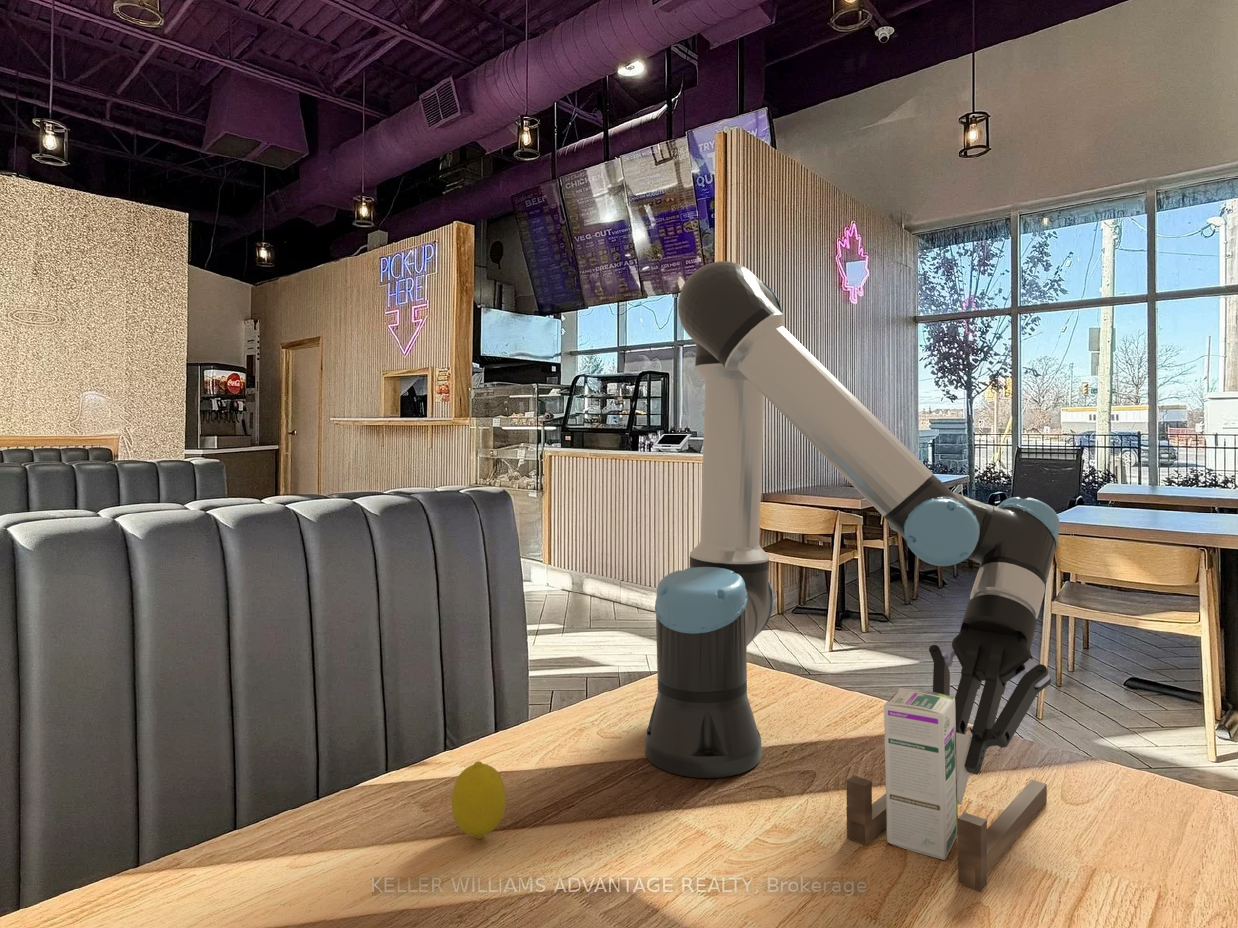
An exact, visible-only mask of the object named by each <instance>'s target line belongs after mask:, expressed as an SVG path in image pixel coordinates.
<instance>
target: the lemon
mask: <svg viewBox="0 0 1238 928" xmlns="http://www.w3.org/2000/svg"><path fill="white" fill-rule="evenodd" d="M452 788H453V789H452V794H451V813H452V816H453V820H454V822H455V823H456V826H457V827H458V828H459V829H460V830H461V831H462V832H463V833H465V834H467V835H469V836H473V837H475V838H476V839H478V840H481V839H483V838H484V837H485V836H486V835H488V834H489V833H491V832H493V831H494V830H495V829H496V828H497V827H498V826H499V824H500V823H501V820H502V819H503V817H504V814H505V811H506V803H507V802H506V801H507V794H506V788H505V784H504V781H503V778H502V775H500V773H499V772H498V770H497V769H495V768H494V767H493V766H491V765H489V764H486V763H483V762H482V761H475V762H474V764H472V765H469V766H467V767H466V768H464V769H463V771H461V772H460V773H459V775H458V776H457V778H456V780H455V782H454V785H453V787H452Z"/></svg>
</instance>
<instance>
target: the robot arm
mask: <svg viewBox="0 0 1238 928" xmlns="http://www.w3.org/2000/svg"><path fill="white" fill-rule="evenodd" d="M677 303H678V305H677V306H678V307H677V308H678V309H677V310H678V317H679V320H680V323H681V325H682V326H681V327H683V330H684V331H685V333H686V334H687V335H688V337H690V338H691V339H692V340H693V341H694V342H695V361H694V362H695V365H694V366H695V371H697V372H698V373H699V374H700V376H701V377H702V378H703V379H704V381H705V383H704V409H703V410H704V411H703V412H704V414H703V442H702V443H703V444H702V445H703V447H702V452H703V453H702V481H701V509H700V513H701V515H700V539H699V540H700V542H699V543H698V544H697V545H696V546H695V547H694V548H693V549H692V550H691V551H690V552H689V567H688V568H685V569H684V570H676V571H673V572H670V573H668V574H666V575H665V576H664V577H663V578H662V579H660V581H659V583H658V585H657V588H656V599H655V602H654V603H655V605H654V611H655V612H654V613H655V619H656V620H655V626H656V630H655V631H656V670H657V671H656V673H657V677H656V678H657V695H656V697H655V702H654V705H653V708H652V712H651V714H650V719H649V722H648V726H647V727H646V731H645V735H644V736H645V737H644V748H645V749H644V754H645V756H646V758H647V760H648V761H649V762H650V763H652V765H654V766H655V767H657V768H658V769H661V770H662V771H666V772H667V773H671V774H674V775H679V776H684V777H691V778H700V779H715V778H716V779H717V778H726V777H731V776H732V777H733V776H735V775H740V774H742V773H746V772H747V771H750V770H752V769H753V768H755V767H756V766H757V765H758V764H760V761H761V760H762V737H761V734H760V731H759V729H758V727H757V723H756V720H755V716H754V713H753V710H752V707H751V704H750V700H749V698H748V670H747V669H748V665H747V663H748V661H747V659H748V658H747V654H748V653H747V652H748V651H747V649H748V648H747V647H748V646H749V645H750V644H751V643H752V641H754V640H755V638H756V637H757V636H758V635H759V634H760V633H762V631H764V630H765V628H766V626H767V625H768V623H769V621H770V618H771V616H772V614H773V609H774V592H773V586H772V585H771V582H770V579H769V576H770V555H768V554H767V552H766V551H765V550H764V549H763V548H762V546H761V545H760V531H761V530H760V529H761V528H760V527H761V498H762V476H763V475H762V474H763V472H762V471H763V447H764V446H763V441H764V440H763V439H764V438H763V437H764V418H765V417H764V416H765V415H764V414H765V413H764V411H765V409H764V408H765V398H766V399H767V400H768V401H769V402H770V403H771V404H772V405H773V406H774V407H775V408H776V409H777V410H778V411H779V412H780V413H781V414H782V415H783V416H784V417H785V418H786V419H787V420H788V422H789V423H791V424H792V426H794V427H795V429H797V431H799V433H800V434H801V435H802V436H803V437H804V438H805V439H806V440H807V441H808V442H809V443H810V444H811V445H812V446H813V447H814V448H815V449H816V450H817V451H818V452H819V453H820V454H821V455H822V456H823V457H824V458H825V459H826V460H827V461H828V462H829V463H830V464H831V465H832V466H833V467H834V468H835V469H836V470H837V471H838V472H839V473H840V474H841V475H842V476H843V477H844V478H845V479H846V481H848V483H850V484H851V485H852V487H854V488H855V489H856V490H857V491H858V492H859V493H860V494H861V495H862V497H863V498H864V499H865V500H866V501H868V502H869V504H871V506H872V507H874V509H876V511H878V512H879V514H880V515H881V516H882V517H884V519H885V520H886V521H887V522H888V526H889V528H890V529H891V530H893V531H895V532H897V533H898V534H899V535H900V536H901V537H902V538H903V539H904V540H905V543H906V544H907V547H908V548H909V550H910V551H911V552H912V553H913V554H914V555H915V556H916V557H917V558H918V559H920V560H921V561H923V562H924V563H927V564H929V565H932V566H936V567H937V566H938V567H948V566H955V565H957V564H960V563H962V562H963V561H966V560H967V559H968V560H971V561H975V562H977V563H979V567H978V570H977V574H976V577H975V579H974V583H973V586H972V589H971V591H970V595H969V599H970V600H969V601H967V602H968V603H967V605H966V607H965V611H964V615H963V619H962V621H961V625H960V631H959V633H958V634H957V635H956V636H955V637H953V639H952V641H951V644H948V645H945V646H942V647H939V646H938V645H937V644H932V645H930V646H929V648H928V651H929V653H930V657H931V658H932V661H933V669H932V670H933V672H932V673H933V676H932V692H936V693H939V694H944V695H948V696H951V695H950V694H951V693H950V691H951V680H950V679H951V673H950V669H949V668H950V667H952V664H953V663H954V662H953V661H954V660H953V659H954V657H955V656H956V658H957V660H958V661H959V663H960V666H961V670H960V674H961V675H960V680H959V683H958V687H957V690H956V693H955V696H954V698H955V715H956V755H957V805H962V802H963V799H964V796H965V793H966V789H967V786H968V781H969V777H970V774H973V775H975V776H976V775H977V776H978V775H979V774H980V772H981V770H982V766H983V764H984V758H985V757H986V751H987V749H988V748H990V747H995V746H996V747H997V746H998V747H999V748H1002V749H1003V748H1007V747H1008V746H1009V745H1010V742H1011V740H1012V739H1013V737H1014V736H1015V734H1016V732H1017V730H1018V728H1019V727H1020V725H1021V724H1022V722H1023V720H1024V718H1025V716H1026V715H1027V713H1028V711H1029V709H1030V707H1031V706H1032V704H1033V703H1034V701H1035V698H1036V697H1037V695H1038V694H1039V693H1041V692H1042V690H1044V689H1046V688H1047V687H1048V686H1050V684H1052V677H1051V676H1050V674H1049V670H1048V668H1047V666H1046V665H1044V664H1042V663H1041V664H1040V663H1039V664H1038V663H1037V662H1036V661H1035V660H1034V659H1033V656H1032V653H1031V648H1032V643H1033V641H1034V637H1035V632H1036V627H1037V624H1038V623H1037V619H1038V618H1039V615H1040V611H1041V606H1042V605H1043V603H1042V602H1043V600H1044V596H1045V592H1046V586H1047V582H1048V580H1049V579H1048V578H1049V574H1050V570H1051V569H1052V568H1051V567H1052V564H1053V559H1054V557H1055V556H1054V555H1055V552H1056V550H1057V549H1058V540H1059V539H1058V538H1059V533H1060V525H1061V524H1060V518H1059V516H1058V514H1057V512H1056V511H1055V510H1054V509H1053V508H1052V507H1051V506H1050V505H1049V504H1047V503H1045V502H1043V501H1041V500H1039V499H1035V498H1033V497H1027V498H1021V497H1020V496H1013V497H1010V498H1007V499H1004V500H1003V501H1001V503H999V504H998V506H996V505H991V504H989V503H988V504H986V503H985V502H981V501H978V500H977V499H973V498H971V497H968V496H966V495H962V494H960V493H956V492H953V491H952V490H951V489H949V487H947V486H946V484H945V483H943V482H942V480H940V479H939V478H938V477H937V476H936V475H934V473H933V471H931V470H930V468H928V467H927V466H926V465H925V464H924V463H923V462H922V461H921V460H920V459H919V458H918V457H917V456H916V455H915V454H914V453H913V452H911V450H910V449H908V447H906V445H905V444H904V443H903V442H902V441H900V440H899V438H898V437H896V436H895V435H894V434H893V433H892V431H890V430H889V429H888V428H887V427H886V425H884V424H883V423H882V422H881V421H880V420H879V419H878V417H876V416H875V415H874V414H873V413H872V412H871V411H870V410H869V409H868V408H867V407H866V406H865V405H864V404H863V403H862V402H861V401H860V400H859V399H858V398H857V397H856V396H855V395H854V394H852V393H851V391H849V389H848V388H846V386H844V384H842V383H841V382H840V381H839V380H838V379H837V378H836V377H835V376H834V375H833V374H832V373H831V372H830V371H829V370H828V369H827V368H826V367H825V366H824V365H823V364H822V363H821V362H820V361H819V360H818V359H817V358H816V357H815V356H814V355H813V354H812V353H811V352H810V351H809V350H808V349H807V348H805V346H804V345H802V343H800V341H798V339H797V338H796V337H795V336H794V335H793V334H791V332H789V331H788V330H787V328H785V327H784V322H785V321H784V319H785V317H784V312H783V309H782V307H781V303H780V300H779V298H778V296H777V294H776V293H775V292H774V290H773V289H772V288H771V287H770V286H768V284H766V283H765V282H763V281H762V280H760V278H758V277H757V276H756V275H755V274H754V272H752V271H751V270H750V269H748V268H746V266H743V265H741V264H739V263H737V262H731V261H723V260H722V261H715V262H710V263H707V264H705V265H702V266H701V267H700V268H698V269H696V270H695V271H694V272H693V273H692V274H691V275H690V276H689V277H688V278H687V280H686V281H685V282H684V284H683V286H682V288H681V290H680V294H679V297H678V302H677ZM1020 673H1022V677H1021V678H1020V680H1019V681H1018V683H1017V685H1016V687H1015V688H1014V690H1013V692H1012V693H1011V695H1010V696H1009V698H1008V700H1007V702H1006V703H1005V704H1004V707H1003V708H1002V710H1001V711H1000V714H998V711H999V707H1000V704H1001V700H1002V697H1003V695H1004V694H1005V692H1006V691H1005V690H1006V686H1007V683H1008V682H1009V681H1011V680H1012V679H1013V678H1015V677H1017V676H1018V675H1019V674H1020ZM983 682H984V685H983V689H982V693H981V696H980V699H979V703H978V707H977V711H976V715H975V717H974V722H973V725H972V727H969V731H970V733H971V735H969V734H966V732H967V729H968V725H969V721H970V719H971V718H970V717H971V714H972V712H973V709H974V708H973V706H974V705H975V700H976V696H977V692H978V691H979V690H980V688H981V686H982V683H983ZM997 716H998V717H997Z"/></svg>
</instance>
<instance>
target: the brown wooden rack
mask: <svg viewBox="0 0 1238 928" xmlns="http://www.w3.org/2000/svg"><path fill="white" fill-rule="evenodd" d="M845 782H846V784H845V785H846V789H845V790H846V838H847V839H849V840H851V841H853V842H856V843H859V844H861V845H863V846H866V845H868V844H869V843H870V842H871V841H872V840H873V839H874V838H876V837H877V836H878V835H879V834H880V833H882V831H884V830H885V829H887V828H886V792H885V793H884V794H883V795H881V796H880V797H879V798H878V799H877V800H876V801H874V802H873V781H872V780H870V779H866V778H863V777H860V776H857V775H854V774H853V775H852V776H850V777H849V778H848V779H847V778H846V780H845ZM1047 790H1048V784H1047V783H1044V782H1042V781H1038V780H1036V779H1035V780H1034V779H1031V780H1030V781H1029V782H1028V783H1027V784H1026V785H1025V787H1024V788H1023V789H1022V790H1021V791H1020V792H1019V793H1018V794H1017V796H1015V798H1013V800H1012V801H1011V802H1010V803H1009V804H1008V805H1007V807H1006V808H1005V809H1004V810H1003V811H1002V812H1001V813H1000V814H999V815H998V816H997V817H996V819H995V820H994V821H993V822H992V823H991V824H990V825H989V827H988V820H987V819H986V818H982V817H979V816H976V815H974V814H971V813H968V812H965V811H964V812H963V813H961V814H960V816H958V835H957V882H958V884H960V885H963V886H965V887H968V888H971V889H973V890H975V891H978V892H980V893H982V891H984V889H985V887H986V886H987V885H988V874H989V873H990V872H991V871H992V870H993V868H994V867H995V866H996V865H997V863H998V862H999V861H1000V860H1001V858H1002V857H1003V856H1004V855H1005V854H1006V852H1007V851H1009V849H1010V847H1012V845H1013V844H1014V843H1015V842H1016V840H1017V839H1018V838H1019V836H1020V835H1021V834H1022V833H1023V831H1024V830H1025V829H1026V827H1028V825H1029V824H1030V823H1031V822H1032V820H1033V819H1034V818H1035V817H1036V815H1037V814H1038V813H1039V812H1040V811H1041V809H1042V808H1043V807H1044V806H1045V804H1046V803H1047V802H1048V801H1047V800H1048V796H1047V794H1048V793H1047V792H1048V791H1047Z"/></svg>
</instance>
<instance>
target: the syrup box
mask: <svg viewBox="0 0 1238 928" xmlns="http://www.w3.org/2000/svg"><path fill="white" fill-rule="evenodd" d="M883 719H884V720H883V721H884V724H883V726H884V727H883V728H884V731H883V732H884V773H885V775H884V776H885V778H884V779H885V793H886V828H885V829H886V842H887V844H888V843H889V844H891V845H892V846H895V847H898V848H901V849H905V850H907V851H911V852H914V853H917V854H921V855H924V856H928V857H931V858H934V859H935V858H936V859H939V860H943V861H946V860H947V858H948V855H949V853H950V851H951V850H952V847H953V845H954V843H955V842H956V839H957V838H958V818H959V816H958V814H959V812H958V811H959V810H958V806H959V805H958V804H957V755H956V715H955V696H952V695H950V696H948V695H944V694H939V693H936V692H933V691H930V690H922V689H914V688H912V689H911V688H903V687H899V688H898V690H897V691H896V693H894V694H893V695H892V696H891V697H890V698H889V699H888V700H887V701H886V702H885V704H883Z"/></svg>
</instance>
